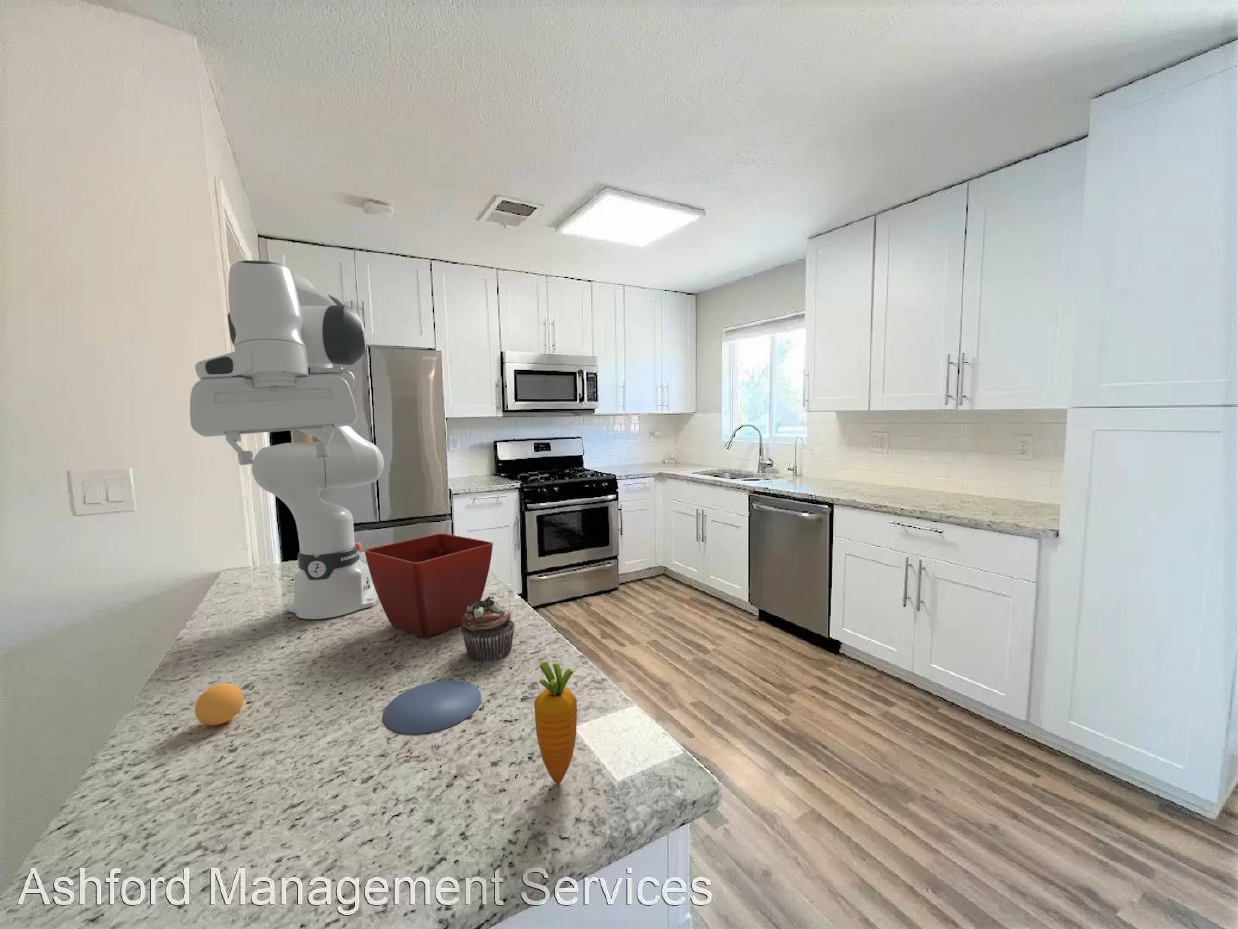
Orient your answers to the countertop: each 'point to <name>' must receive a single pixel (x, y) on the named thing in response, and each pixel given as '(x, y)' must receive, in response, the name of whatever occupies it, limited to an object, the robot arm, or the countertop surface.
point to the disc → (432, 707)
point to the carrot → (556, 721)
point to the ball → (219, 704)
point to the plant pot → (429, 580)
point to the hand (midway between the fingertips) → (286, 460)
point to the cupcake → (487, 630)
